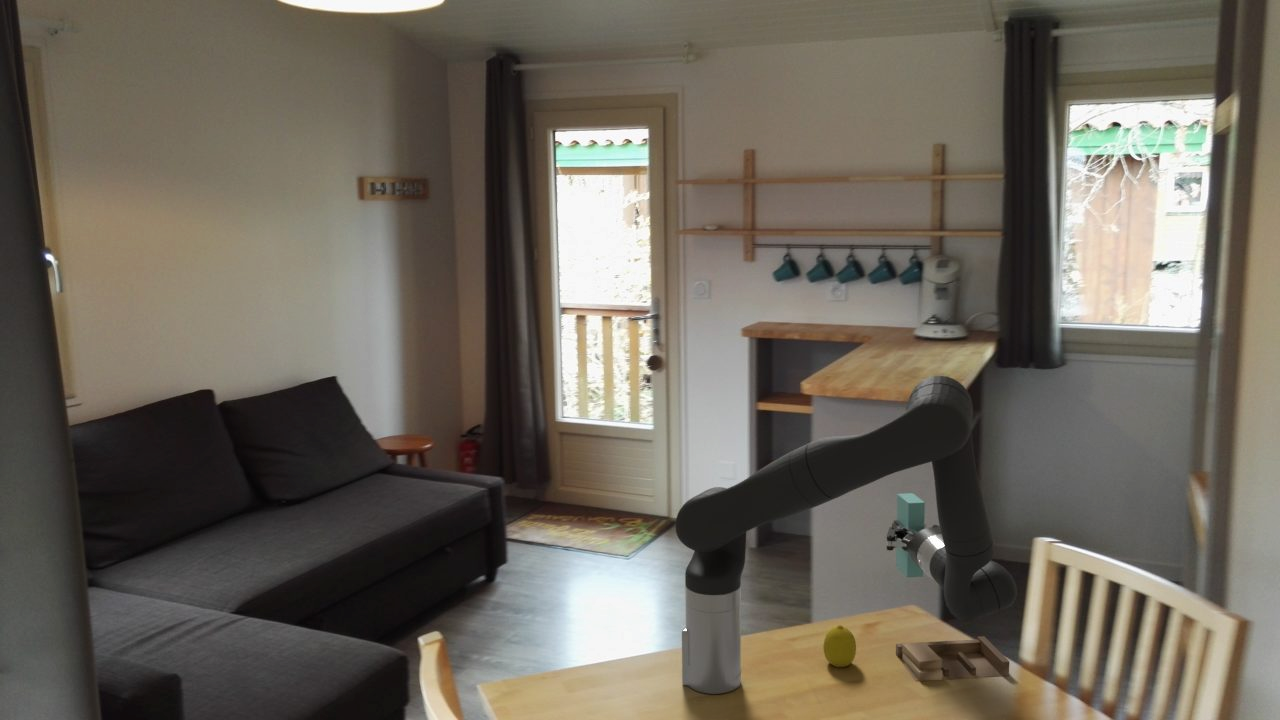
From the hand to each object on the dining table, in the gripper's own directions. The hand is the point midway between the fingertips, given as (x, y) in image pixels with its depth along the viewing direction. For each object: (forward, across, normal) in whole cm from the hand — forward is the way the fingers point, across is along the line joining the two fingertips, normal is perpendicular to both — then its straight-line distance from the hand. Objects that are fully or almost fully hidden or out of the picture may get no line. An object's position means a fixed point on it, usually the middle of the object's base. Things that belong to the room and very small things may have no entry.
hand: (904, 525), depth 188 cm
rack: (-18, -2, +20) cm, 27 cm away
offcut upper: (-19, +3, +18) cm, 26 cm away
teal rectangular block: (-3, 0, +8) cm, 9 cm away
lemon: (-16, +17, +20) cm, 31 cm away
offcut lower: (-19, +4, +19) cm, 27 cm away
